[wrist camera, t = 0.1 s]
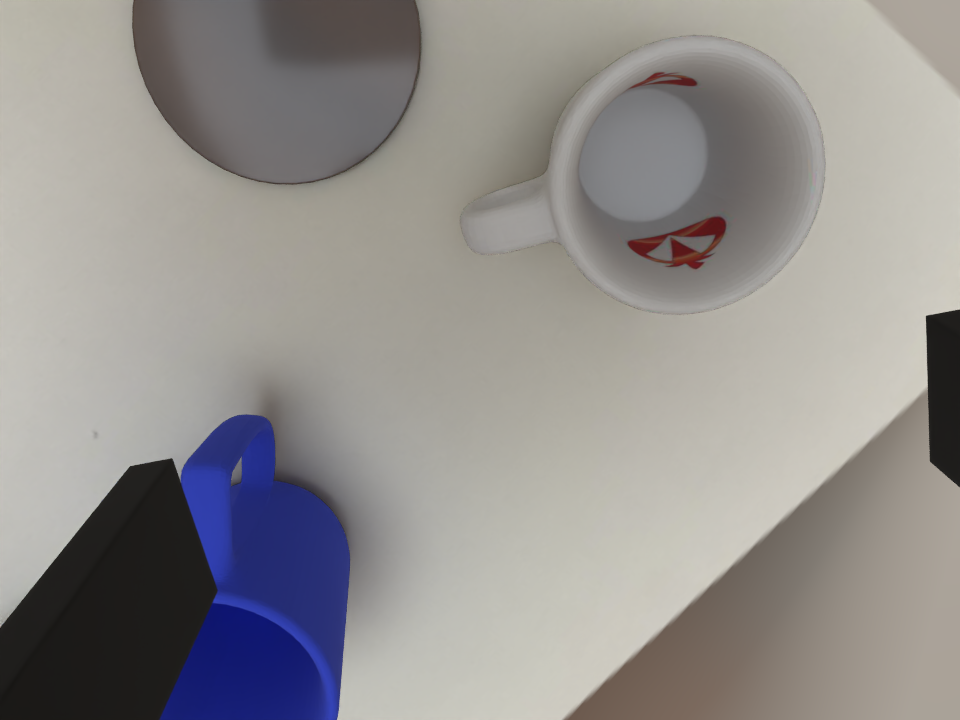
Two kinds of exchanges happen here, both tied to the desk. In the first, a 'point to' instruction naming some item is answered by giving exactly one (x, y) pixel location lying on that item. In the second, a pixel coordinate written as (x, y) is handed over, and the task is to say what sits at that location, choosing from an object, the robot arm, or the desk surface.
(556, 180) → the cup
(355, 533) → the desk surface
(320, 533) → the mug
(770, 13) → the desk surface
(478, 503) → the desk surface
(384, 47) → the coaster
